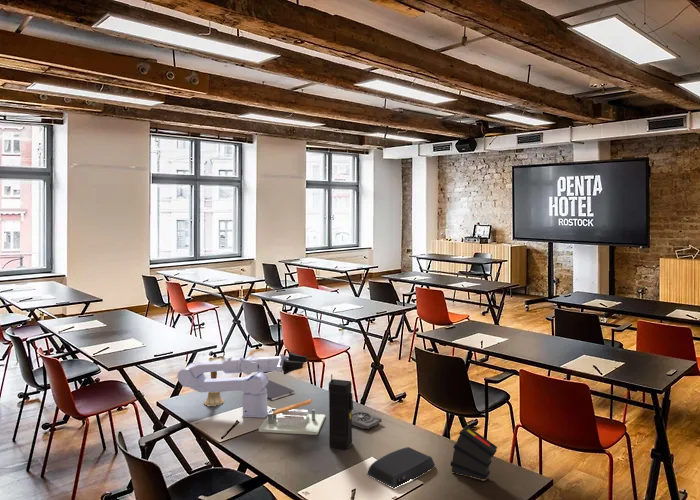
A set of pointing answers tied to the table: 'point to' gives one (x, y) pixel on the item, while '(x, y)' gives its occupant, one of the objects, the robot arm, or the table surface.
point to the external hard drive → (400, 466)
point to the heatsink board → (305, 430)
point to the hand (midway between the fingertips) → (304, 362)
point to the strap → (291, 407)
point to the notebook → (277, 390)
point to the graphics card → (364, 419)
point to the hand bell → (214, 395)
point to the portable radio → (340, 414)
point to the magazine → (472, 454)
